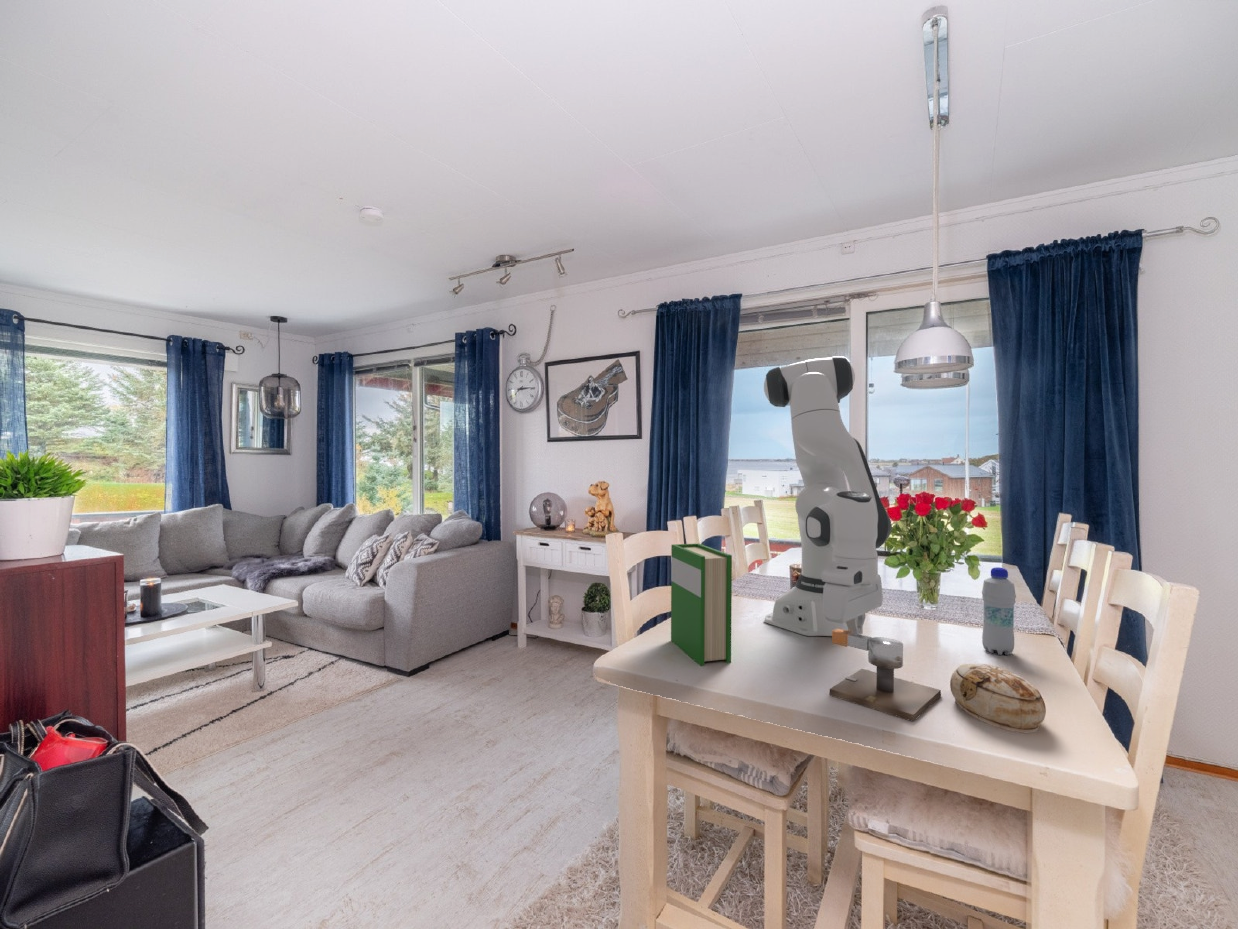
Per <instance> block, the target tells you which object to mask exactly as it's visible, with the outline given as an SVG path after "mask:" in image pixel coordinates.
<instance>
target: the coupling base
mask: <svg viewBox="0 0 1238 929" xmlns="http://www.w3.org/2000/svg"><path fill="white" fill-rule="evenodd" d="M844 678H845V679H843V680H841V681H839V682H838V683H836V684H835V685H833V686H832V687H830V688H829V696H831V695H832V697H834V696H835V698H837V699H841V698H842V699H841V700H844V701H847V702H850V703H853V702H854V704H856V703H857V705H859V706H863V707H866V708H870V709H872V708H874V709H873V710H875V709H877V710H876V711H878V710H879V712H883V713H885V712H886V713H885V714H888V715H891V716H894V715H897V716H899V717H898V718H900V717H901V719H903V718H904V720H907V719H909V720H908V721H910V720H912V721H911V722H914V721H916V720H917V719H916V718H917V717H918V716H919V715H920V716H921V715H922V714H923V713H924V712H925V711H927V710H928V708H930V707H931V706H932V705H933V704H934V703H935V702H936V701H938V700H939V698H940V697H941V696H942V695H941V694H942V693H941V691H942V689H938V688H934V687H931V686H927V685H924V684H921V683H916V682H913V681H909V680H907V679H906V680H905V679H901V678H899V677H895V669H888V668H881V667H878V666H876V671H871V670H868V669H864V668H861V669H859V670H857V671H856V672H854V673H853V674H851V675H849V676H846V677H844ZM930 705H931V706H930ZM929 706H930V707H929ZM922 712H923V713H922ZM897 716H896V717H897ZM920 716H919V717H920ZM919 717H918V718H919Z"/></svg>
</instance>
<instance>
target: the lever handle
mask: <svg viewBox="0 0 1238 929" xmlns="http://www.w3.org/2000/svg"><path fill="white" fill-rule="evenodd" d="M831 642H832V643H831V644H834V645H838V646H841V647H846V648H847V647H850V648H853V649H858V650H862V651H867V656H868V657H867V658H868V659H867V661H868V663H870V664H871V665H873V666H875V667H877V666H878V667H881V668H888V669H894V670H895V669H902V668H903V666H904V644H903V642H901V641H900V640H897V639H894V638H891V637H890V638H889V637H883V636H882V637H881V636H880V637H879V636H877V637H876V636H875V637H871V636H867V635H863V634H861V635H859V634H855V633H852V632H850V631H846V630H841V629H835V630H833V631H832V636H831Z"/></svg>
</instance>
